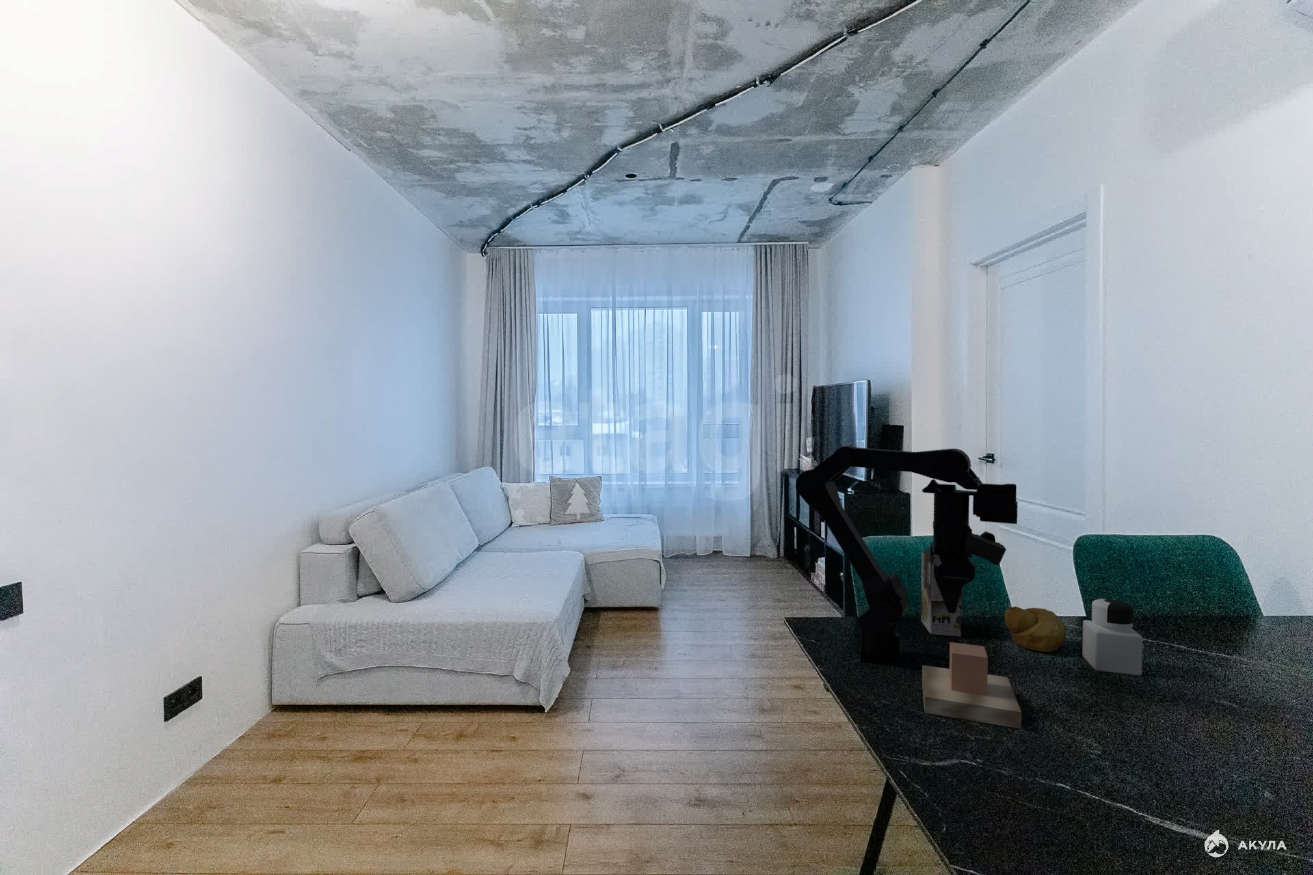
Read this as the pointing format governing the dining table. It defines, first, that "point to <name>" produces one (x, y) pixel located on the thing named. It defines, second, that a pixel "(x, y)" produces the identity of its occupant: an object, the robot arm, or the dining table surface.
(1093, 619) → the medicine bottle
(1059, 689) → the dining table surface
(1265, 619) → the dining table surface
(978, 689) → the terracotta block
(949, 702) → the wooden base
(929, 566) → the coffee box
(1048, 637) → the bread roll
